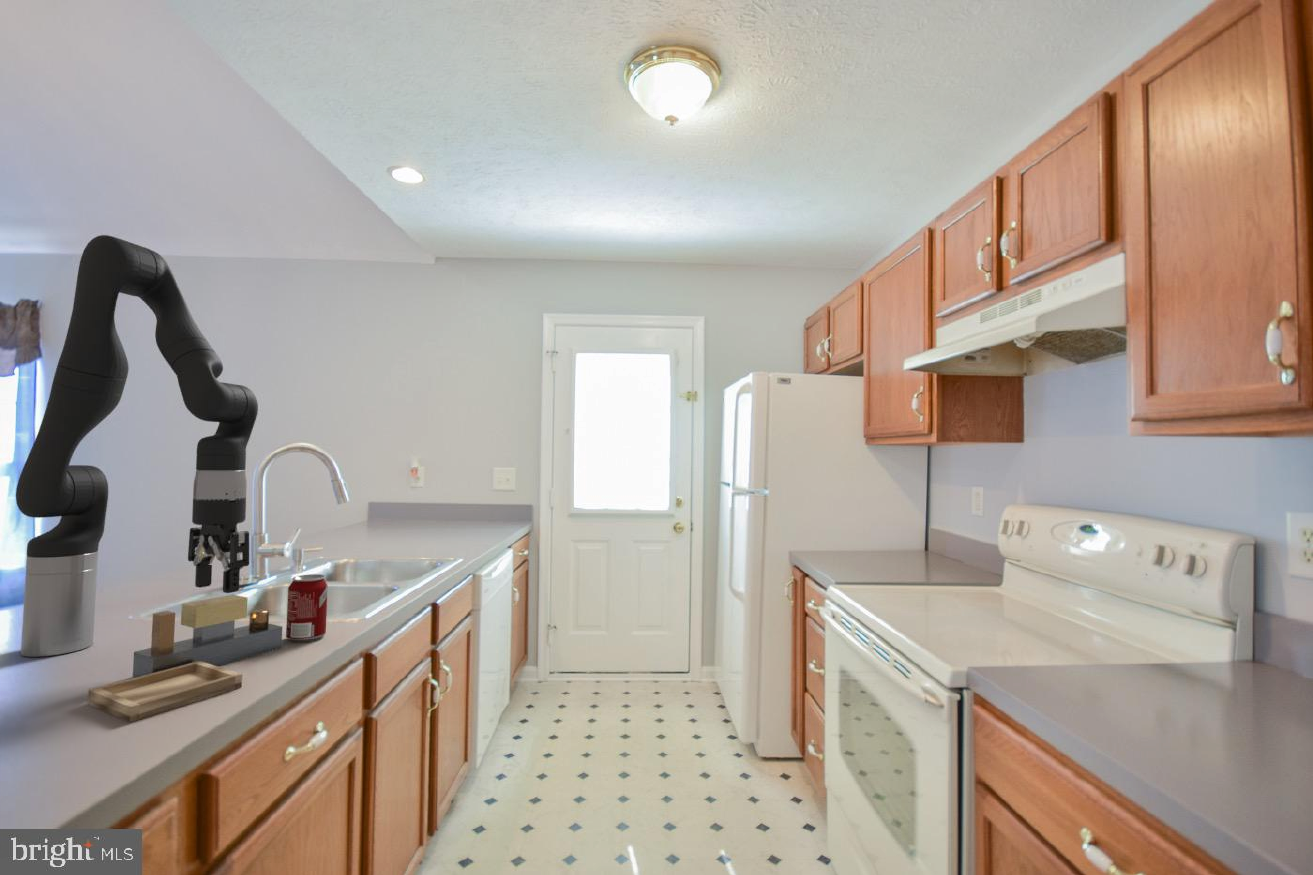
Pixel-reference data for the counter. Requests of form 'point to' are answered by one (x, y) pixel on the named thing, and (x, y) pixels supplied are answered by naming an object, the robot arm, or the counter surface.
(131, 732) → the counter surface
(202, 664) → the parts tray
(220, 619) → the pale wooden block
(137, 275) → the robot arm
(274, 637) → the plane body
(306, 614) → the soda can
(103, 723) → the counter surface
